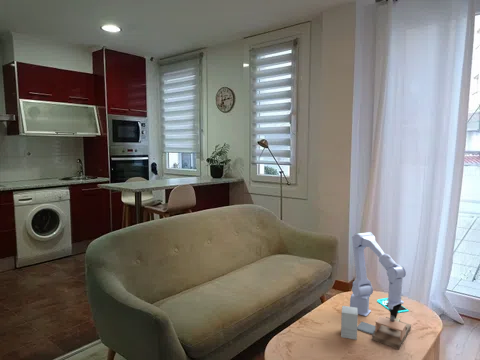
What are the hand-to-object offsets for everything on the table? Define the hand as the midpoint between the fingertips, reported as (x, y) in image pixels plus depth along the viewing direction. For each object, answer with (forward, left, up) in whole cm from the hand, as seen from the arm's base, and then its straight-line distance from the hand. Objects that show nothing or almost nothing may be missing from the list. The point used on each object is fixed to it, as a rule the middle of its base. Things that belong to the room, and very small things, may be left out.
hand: (393, 317), depth 164 cm
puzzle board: (0, -1, -8) cm, 8 cm away
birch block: (0, +3, -8) cm, 8 cm away
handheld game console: (-8, +29, -9) cm, 31 cm away
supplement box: (-16, -15, -8) cm, 24 cm away
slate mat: (-11, -4, -8) cm, 14 cm away
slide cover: (0, -5, -6) cm, 7 cm away
